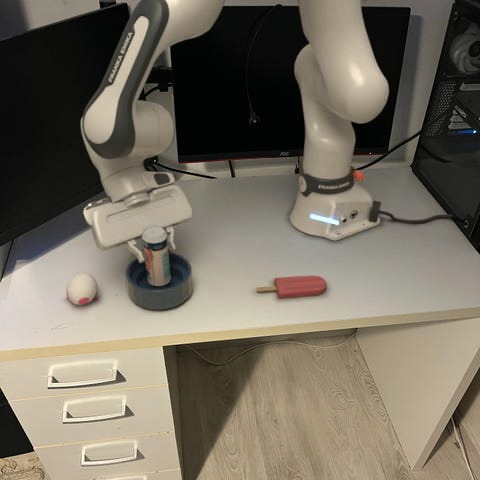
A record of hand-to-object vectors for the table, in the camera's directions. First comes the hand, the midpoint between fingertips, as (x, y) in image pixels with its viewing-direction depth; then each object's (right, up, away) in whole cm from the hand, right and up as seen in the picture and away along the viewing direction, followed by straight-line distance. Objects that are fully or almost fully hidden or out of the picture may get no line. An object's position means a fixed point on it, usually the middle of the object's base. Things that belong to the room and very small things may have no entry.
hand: (158, 256), depth 102 cm
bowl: (-1, -6, +7) cm, 9 cm away
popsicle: (+27, -6, +8) cm, 29 cm away
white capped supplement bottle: (-1, -5, +5) cm, 7 cm away
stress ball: (-17, -8, +5) cm, 19 cm away
